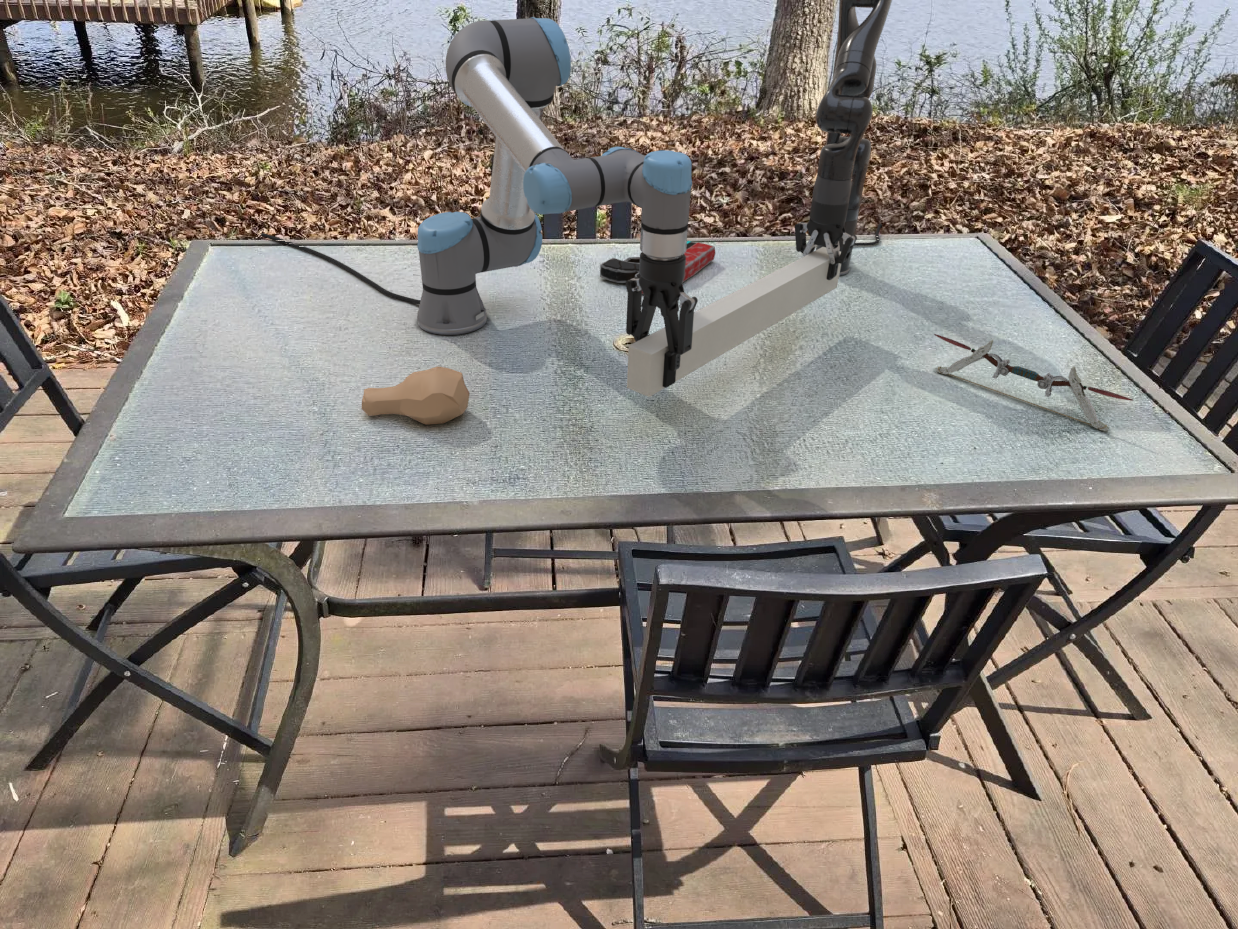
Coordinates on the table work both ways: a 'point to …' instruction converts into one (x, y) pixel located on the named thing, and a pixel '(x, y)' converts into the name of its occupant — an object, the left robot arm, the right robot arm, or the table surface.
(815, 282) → the beam
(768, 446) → the table surface
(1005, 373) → the bow
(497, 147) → the left robot arm
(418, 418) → the squash
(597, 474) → the table surface
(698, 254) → the gun
